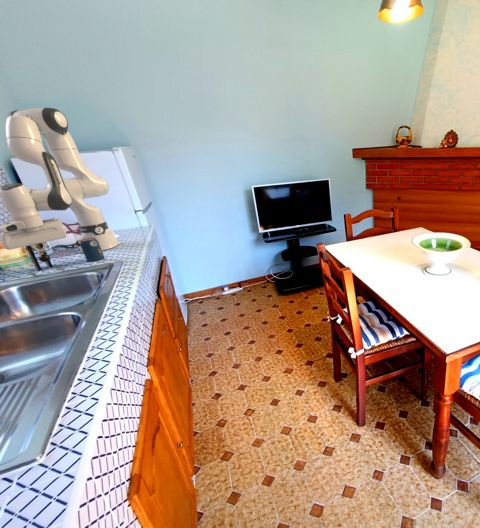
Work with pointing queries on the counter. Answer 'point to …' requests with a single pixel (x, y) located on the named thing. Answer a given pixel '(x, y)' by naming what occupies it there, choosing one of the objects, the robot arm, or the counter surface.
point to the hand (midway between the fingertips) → (42, 252)
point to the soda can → (91, 249)
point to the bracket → (35, 257)
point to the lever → (42, 255)
